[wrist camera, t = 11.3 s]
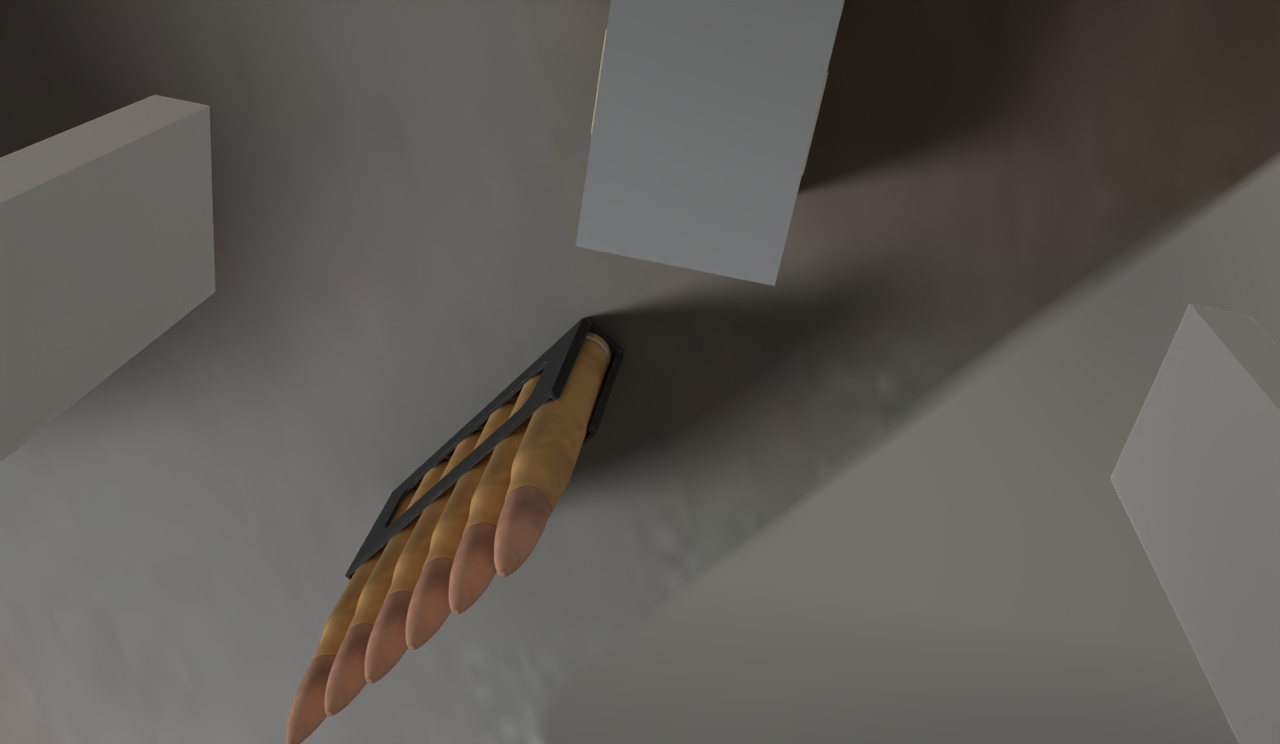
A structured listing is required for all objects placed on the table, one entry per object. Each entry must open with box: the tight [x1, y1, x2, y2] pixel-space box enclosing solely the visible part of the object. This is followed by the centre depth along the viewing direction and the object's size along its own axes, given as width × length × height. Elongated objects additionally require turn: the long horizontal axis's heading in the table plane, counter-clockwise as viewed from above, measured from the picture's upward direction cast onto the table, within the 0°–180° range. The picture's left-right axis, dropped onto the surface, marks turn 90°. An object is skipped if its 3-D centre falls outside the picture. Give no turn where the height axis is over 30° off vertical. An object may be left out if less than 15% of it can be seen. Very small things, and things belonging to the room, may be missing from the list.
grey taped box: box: [576, 0, 845, 286], centre depth 27 cm, size 5×8×7 cm, turn 170°
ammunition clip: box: [286, 318, 624, 744], centre depth 32 cm, size 11×2×12 cm, turn 135°
